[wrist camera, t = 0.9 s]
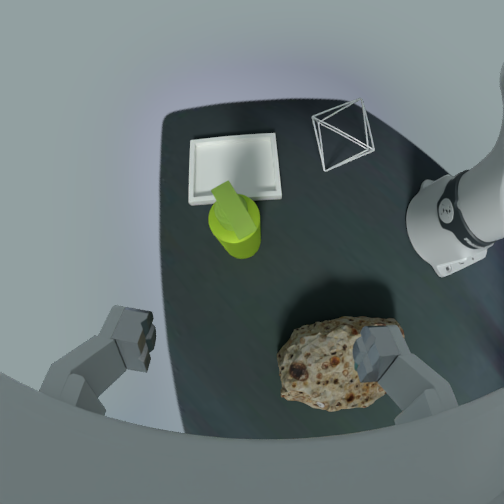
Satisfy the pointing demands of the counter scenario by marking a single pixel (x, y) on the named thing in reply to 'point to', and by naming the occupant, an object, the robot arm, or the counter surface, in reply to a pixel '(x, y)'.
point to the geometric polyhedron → (343, 135)
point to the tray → (234, 167)
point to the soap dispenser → (235, 221)
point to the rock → (327, 365)
